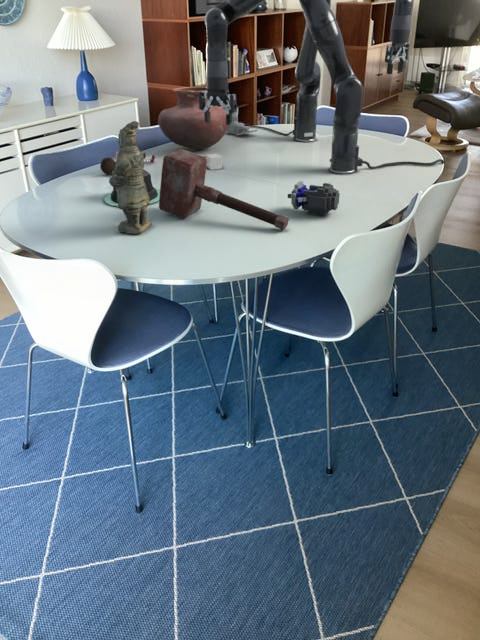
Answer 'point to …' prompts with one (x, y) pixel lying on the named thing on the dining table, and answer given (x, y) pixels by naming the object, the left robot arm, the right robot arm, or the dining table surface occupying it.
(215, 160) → the block
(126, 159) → the statue
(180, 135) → the clay pot
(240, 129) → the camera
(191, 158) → the sledgehammer
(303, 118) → the left robot arm
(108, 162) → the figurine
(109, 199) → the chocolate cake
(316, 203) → the toy
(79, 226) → the dining table surface
